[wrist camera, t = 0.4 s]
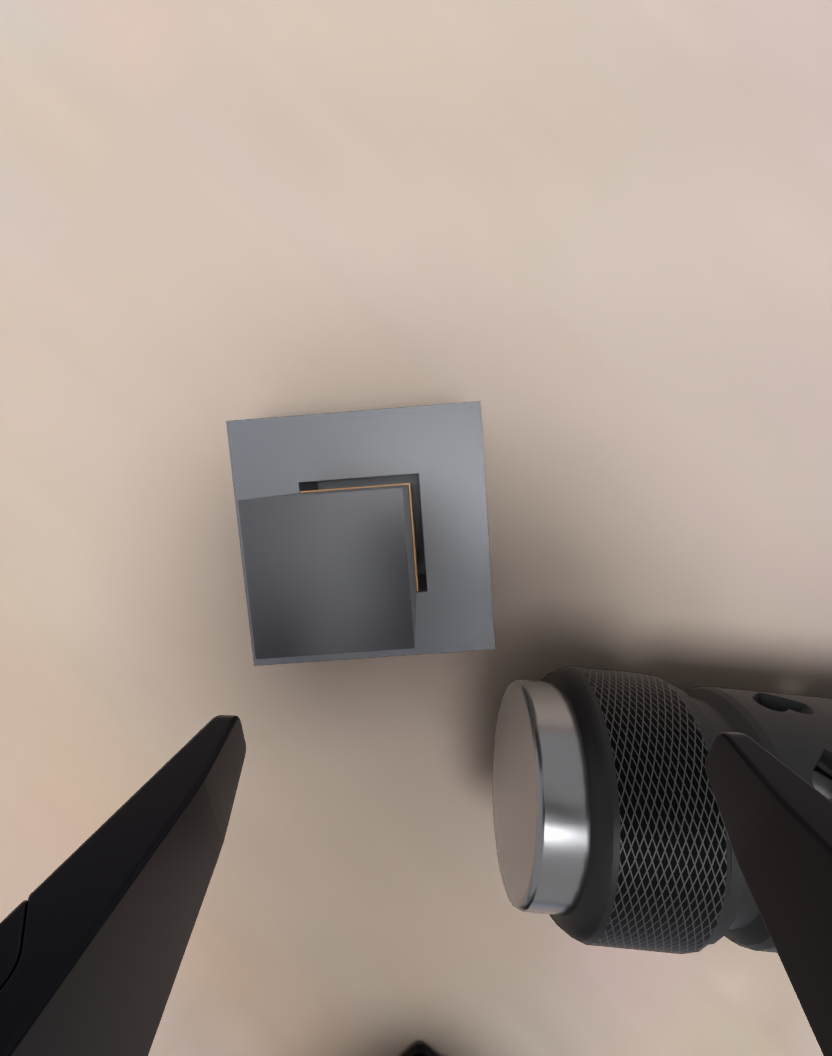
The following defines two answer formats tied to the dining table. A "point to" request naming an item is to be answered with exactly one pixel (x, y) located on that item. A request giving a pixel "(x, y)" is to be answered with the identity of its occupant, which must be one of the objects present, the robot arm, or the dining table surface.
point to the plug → (331, 570)
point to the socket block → (380, 459)
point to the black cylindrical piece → (636, 804)
